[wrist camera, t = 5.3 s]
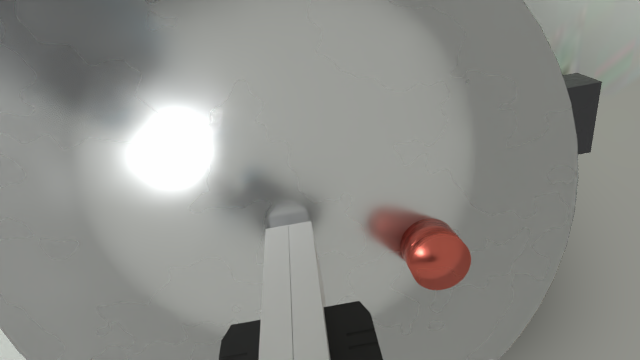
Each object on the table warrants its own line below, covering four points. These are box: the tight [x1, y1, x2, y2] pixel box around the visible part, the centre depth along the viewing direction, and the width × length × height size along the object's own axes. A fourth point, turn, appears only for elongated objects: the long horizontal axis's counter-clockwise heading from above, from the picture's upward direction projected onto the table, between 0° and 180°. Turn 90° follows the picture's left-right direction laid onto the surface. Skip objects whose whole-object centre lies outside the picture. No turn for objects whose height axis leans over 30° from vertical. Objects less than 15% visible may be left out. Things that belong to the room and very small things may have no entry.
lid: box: [0, 0, 578, 360], centre depth 16 cm, size 21×28×3 cm
